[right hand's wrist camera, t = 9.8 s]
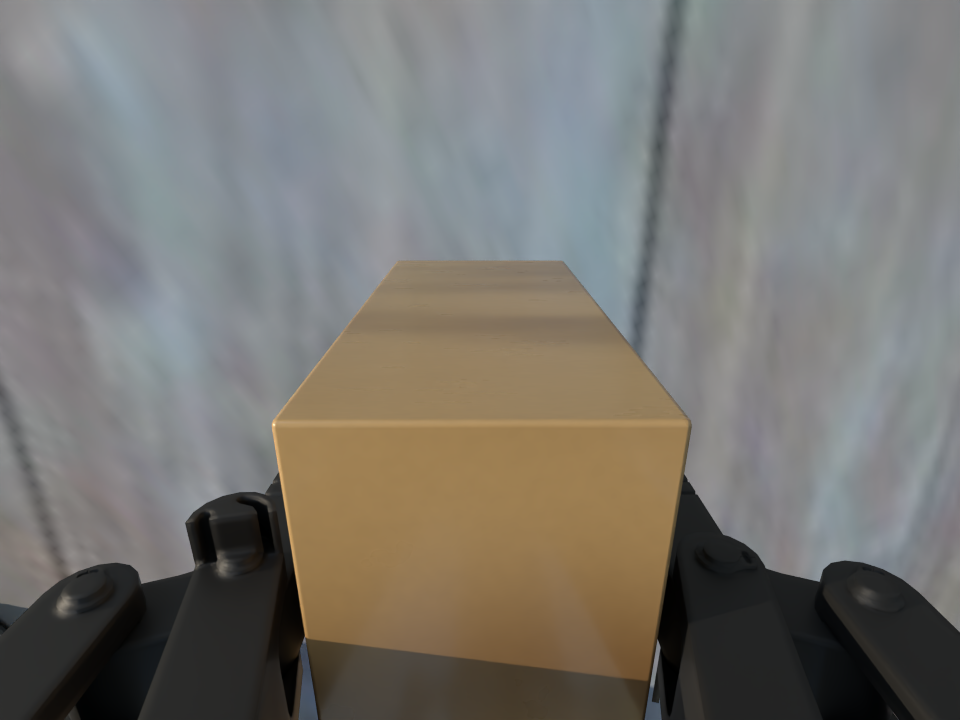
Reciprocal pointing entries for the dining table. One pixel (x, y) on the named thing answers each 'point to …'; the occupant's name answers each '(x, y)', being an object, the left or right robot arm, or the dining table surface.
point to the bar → (481, 501)
